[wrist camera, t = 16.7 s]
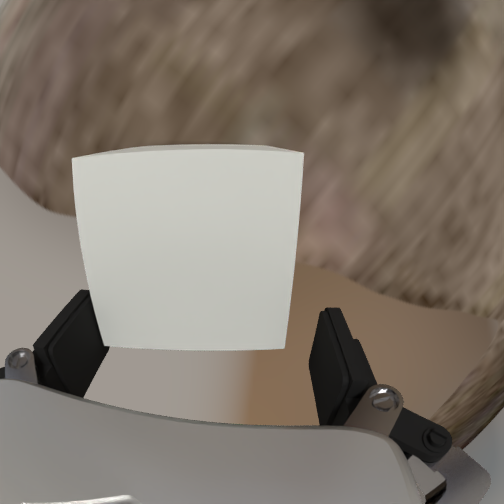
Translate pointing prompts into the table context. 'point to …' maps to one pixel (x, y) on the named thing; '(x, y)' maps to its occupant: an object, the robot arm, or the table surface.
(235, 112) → the table surface
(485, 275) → the table surface
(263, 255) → the white angular block
